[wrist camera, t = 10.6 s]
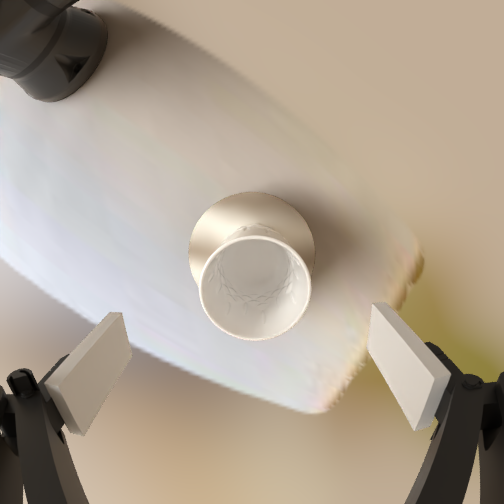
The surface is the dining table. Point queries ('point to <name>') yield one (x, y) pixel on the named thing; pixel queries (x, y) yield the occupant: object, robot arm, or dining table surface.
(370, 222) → the dining table surface
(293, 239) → the cake stand
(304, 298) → the white cup
